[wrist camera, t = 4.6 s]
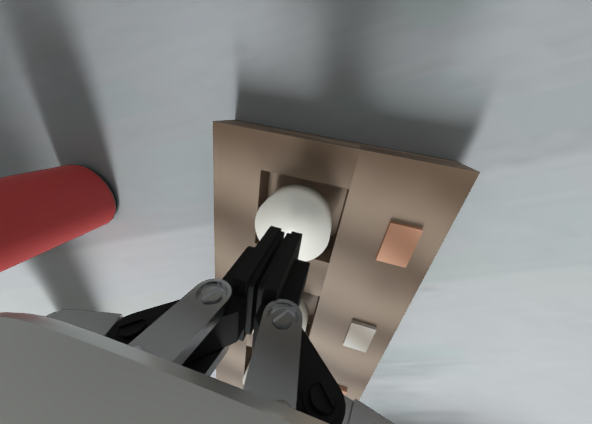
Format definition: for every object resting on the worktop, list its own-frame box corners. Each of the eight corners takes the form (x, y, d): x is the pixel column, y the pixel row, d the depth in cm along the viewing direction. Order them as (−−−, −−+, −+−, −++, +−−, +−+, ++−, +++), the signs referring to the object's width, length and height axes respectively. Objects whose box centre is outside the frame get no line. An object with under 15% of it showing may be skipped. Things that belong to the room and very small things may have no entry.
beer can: (55, 177, 24) (-184, 229, 13) (89, 152, 21) (-171, 192, 11) (96, 228, 26) (-84, 311, 15) (131, 211, 23) (-53, 294, 13)
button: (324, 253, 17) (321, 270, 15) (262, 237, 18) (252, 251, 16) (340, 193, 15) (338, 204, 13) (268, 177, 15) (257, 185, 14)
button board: (345, 396, 28) (344, 429, 25) (228, 355, 30) (215, 381, 27) (456, 161, 15) (482, 173, 12) (234, 119, 17) (210, 121, 14)
